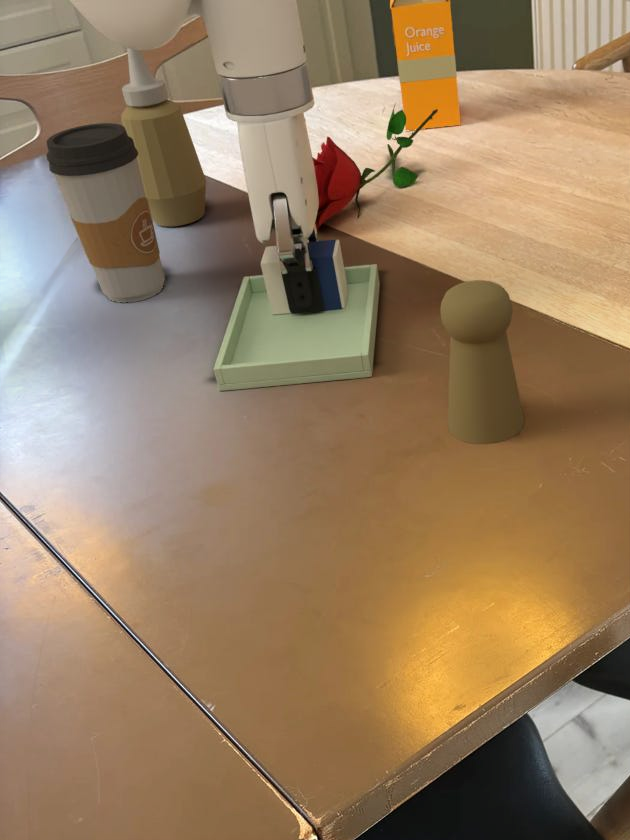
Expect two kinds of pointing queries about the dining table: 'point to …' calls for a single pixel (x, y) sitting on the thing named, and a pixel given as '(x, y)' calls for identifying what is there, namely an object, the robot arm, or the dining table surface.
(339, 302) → the eraser
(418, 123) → the orange juice
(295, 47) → the robot arm
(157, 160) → the squeeze bottle
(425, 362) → the dining table surface
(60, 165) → the coffee cup
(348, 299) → the tray
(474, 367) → the olive brown pawn figure
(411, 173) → the flower
